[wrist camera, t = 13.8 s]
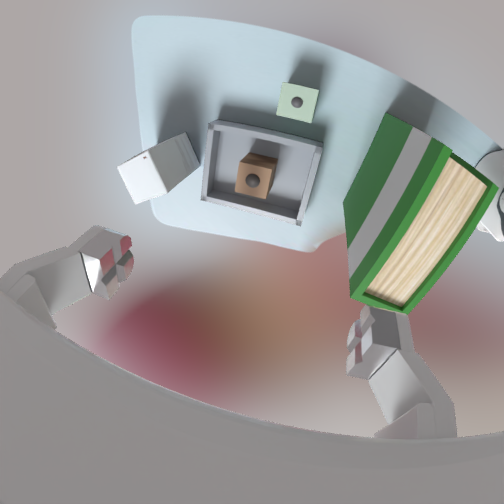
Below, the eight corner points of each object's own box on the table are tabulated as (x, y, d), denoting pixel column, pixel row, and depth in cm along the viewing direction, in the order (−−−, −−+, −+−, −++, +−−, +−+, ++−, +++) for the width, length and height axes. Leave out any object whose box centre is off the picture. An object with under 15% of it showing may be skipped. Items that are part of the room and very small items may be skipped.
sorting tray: (322, 142, 42) (322, 148, 38) (302, 215, 50) (300, 226, 47) (217, 119, 43) (208, 123, 40) (209, 191, 52) (200, 200, 48)
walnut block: (278, 158, 44) (271, 169, 39) (272, 185, 47) (265, 199, 42) (249, 152, 45) (239, 162, 40) (244, 178, 48) (234, 191, 43)
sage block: (319, 89, 37) (318, 90, 32) (312, 118, 40) (311, 123, 35) (287, 82, 37) (282, 82, 32) (282, 111, 40) (275, 115, 35)
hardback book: (385, 112, 36) (444, 144, 17) (423, 134, 36) (499, 187, 17) (343, 202, 46) (350, 297, 27) (378, 219, 46) (403, 318, 27)
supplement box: (155, 144, 48) (115, 165, 38) (186, 131, 46) (148, 148, 36) (170, 178, 52) (134, 205, 42) (201, 167, 49) (168, 193, 39)
